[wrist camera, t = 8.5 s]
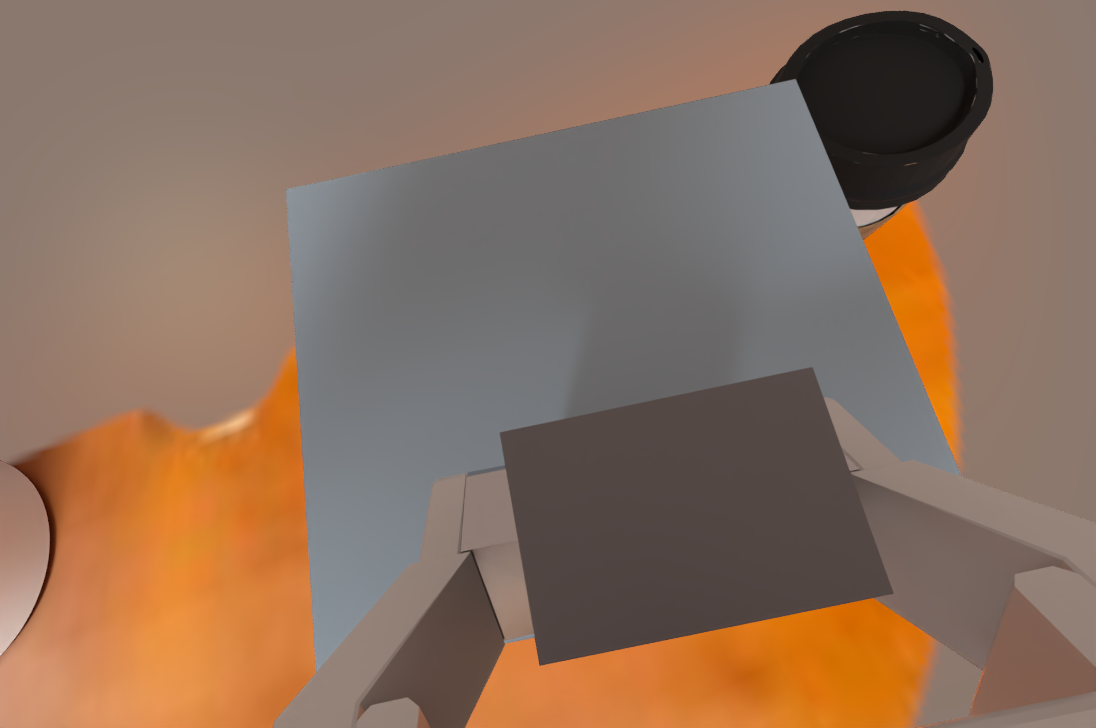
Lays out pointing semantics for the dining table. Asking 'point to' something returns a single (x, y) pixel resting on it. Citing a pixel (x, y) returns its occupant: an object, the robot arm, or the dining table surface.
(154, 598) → the dining table surface
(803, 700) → the dining table surface
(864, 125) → the coffee cup
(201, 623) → the dining table surface
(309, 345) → the lid
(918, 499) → the robot arm
